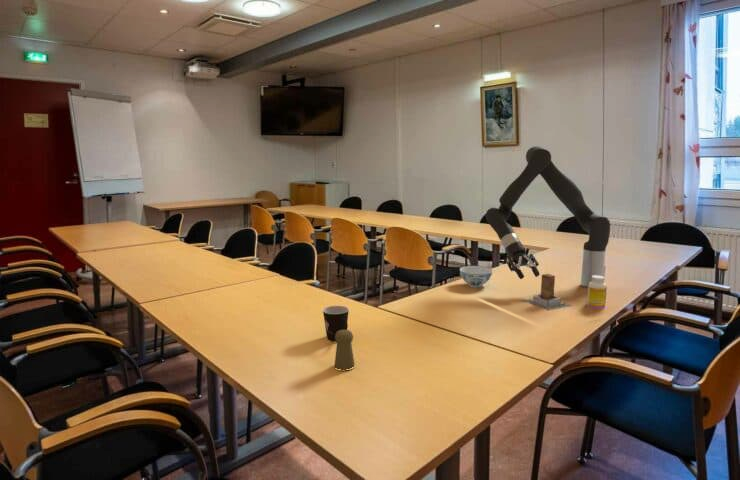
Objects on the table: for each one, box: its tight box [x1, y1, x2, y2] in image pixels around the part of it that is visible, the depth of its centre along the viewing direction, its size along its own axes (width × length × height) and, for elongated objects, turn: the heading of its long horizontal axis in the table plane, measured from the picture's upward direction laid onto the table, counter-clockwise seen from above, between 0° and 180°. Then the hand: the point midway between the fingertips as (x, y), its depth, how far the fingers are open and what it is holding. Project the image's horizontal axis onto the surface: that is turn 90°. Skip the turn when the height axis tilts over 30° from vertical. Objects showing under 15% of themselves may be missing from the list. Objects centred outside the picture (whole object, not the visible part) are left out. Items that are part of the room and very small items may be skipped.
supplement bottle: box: [586, 275, 608, 309], centre depth 184 cm, size 7×7×13 cm
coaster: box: [522, 297, 573, 311], centre depth 188 cm, size 13×14×1 cm
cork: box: [334, 329, 356, 370], centre depth 134 cm, size 6×6×11 cm
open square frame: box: [529, 293, 566, 308], centre depth 188 cm, size 10×10×3 cm
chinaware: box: [459, 265, 493, 289], centre depth 217 cm, size 15×15×8 cm
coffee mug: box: [322, 305, 350, 342], centre depth 154 cm, size 12×9×10 cm
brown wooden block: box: [540, 273, 556, 300], centre depth 187 cm, size 4×4×11 cm
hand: (530, 276), depth 195 cm, fingers open, 8 cm apart
